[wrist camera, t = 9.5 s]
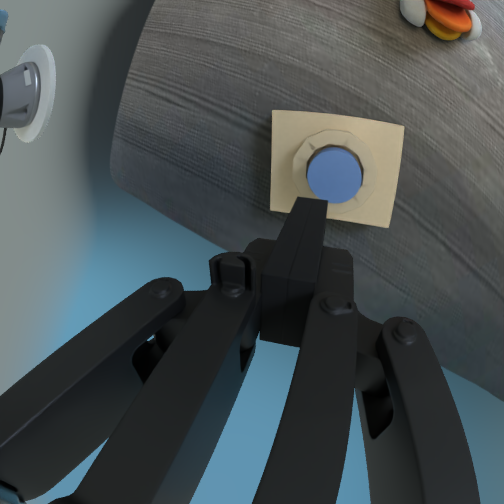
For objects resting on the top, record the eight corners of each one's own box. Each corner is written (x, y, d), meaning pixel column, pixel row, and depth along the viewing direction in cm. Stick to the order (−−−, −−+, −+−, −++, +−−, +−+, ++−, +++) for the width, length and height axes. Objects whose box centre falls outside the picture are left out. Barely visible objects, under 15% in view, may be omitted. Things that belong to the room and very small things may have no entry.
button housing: (275, 201, 29) (265, 217, 26) (278, 109, 24) (266, 110, 21) (385, 218, 26) (391, 236, 23) (398, 124, 21) (409, 127, 18)
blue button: (308, 192, 24) (305, 199, 22) (311, 144, 21) (308, 147, 20) (356, 199, 23) (357, 207, 21) (362, 151, 20) (364, 154, 19)
